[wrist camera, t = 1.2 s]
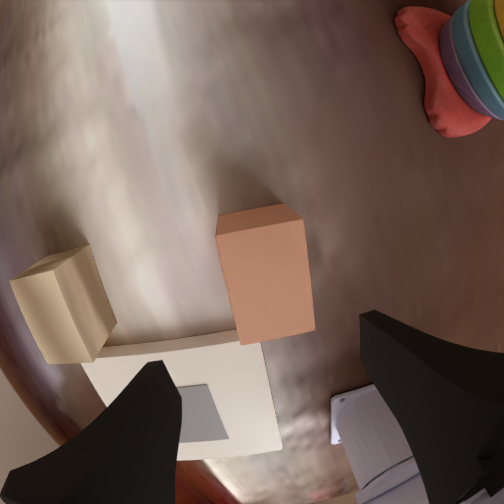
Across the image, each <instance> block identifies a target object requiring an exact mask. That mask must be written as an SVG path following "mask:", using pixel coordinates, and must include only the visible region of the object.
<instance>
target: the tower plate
mask: <svg viewBox="0 0 504 504" xmlns="http://www.w3.org/2000/svg"><path fill="white" fill-rule="evenodd" d="M158 360H163V362H164V364H165V366H166V368H167V370H168V372H169V374H170V376H171V378H172V380H173V382H174V384H175V386H176V388H177V390H178V391H179V393H180V395H181V397H182V425H181V433H180V440H179V447H178V454H177V460H201V459H215V458H226V457H235V456H244V455H251V454H258V453H264V452H270V451H276V450H281V449H283V448H282V442H281V437H280V433H279V428H278V423H277V419H276V414H275V409H274V404H273V400H272V395H271V390H270V385H269V380H268V376H267V371H266V366H265V361H264V356H263V351H262V346H261V342H258V343H253V344H248V345H242V346H241V345H240V341H239V337H238V333H237V329H235V330H229V331H224V332H218V333H212V334H205V335H199V336H192V337H185V338H178V339H171V340H164V341H156V342H148V343H139V344H130V345H120V346H110V347H102V348H101V350H100V352H99V354H98V355H97V357H96V359H95V361H94V362H93V363H81V365H82V367H83V368H84V370H85V372H86V374H87V375H88V377H89V379H90V381H91V382H92V384H93V386H94V387H95V389H96V391H97V392H98V394H99V396H100V397H101V399H102V400H103V402H104V403H105V405H106V406H107V407H108V406H109V405H110V404H111V403H112V402H113V400H114V399H115V398H116V397H117V396H118V395H119V394H120V393H121V392H122V390H123V389H124V388H125V387H126V386H127V385H128V383H129V382H130V381H131V380H132V379H133V378H134V376H135V375H136V374H137V373H138V372H139V371H140V370H141V368H142V367H143V366H144V365H145V364H146V363H147V362H151V361H158Z"/></svg>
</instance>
